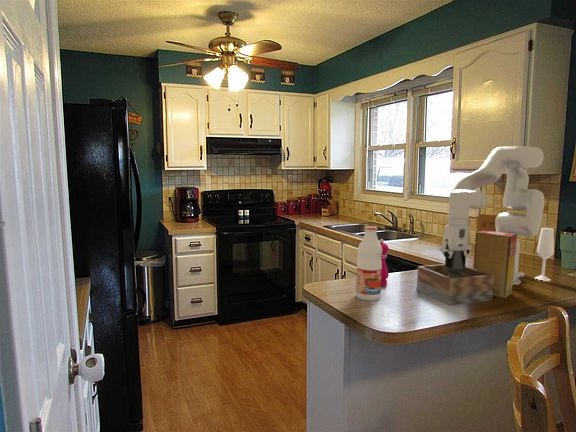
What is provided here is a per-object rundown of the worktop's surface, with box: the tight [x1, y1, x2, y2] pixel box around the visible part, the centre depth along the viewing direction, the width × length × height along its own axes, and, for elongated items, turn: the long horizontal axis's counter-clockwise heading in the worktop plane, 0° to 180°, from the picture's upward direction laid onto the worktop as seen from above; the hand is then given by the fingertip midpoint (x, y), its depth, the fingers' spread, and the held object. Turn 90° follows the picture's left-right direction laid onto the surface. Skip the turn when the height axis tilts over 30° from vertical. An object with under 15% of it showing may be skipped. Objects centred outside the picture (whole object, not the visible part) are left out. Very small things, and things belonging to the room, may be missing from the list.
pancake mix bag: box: [475, 213, 499, 235], centre depth 205 cm, size 7×19×28 cm, turn 55°
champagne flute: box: [534, 227, 555, 282], centre depth 186 cm, size 7×7×24 cm
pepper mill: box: [379, 238, 390, 287], centre depth 173 cm, size 7×7×20 cm
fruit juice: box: [355, 225, 382, 302], centre depth 155 cm, size 9×9×28 cm
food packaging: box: [472, 230, 518, 299], centre depth 164 cm, size 13×9×25 cm
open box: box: [416, 263, 494, 306], centre depth 161 cm, size 20×20×10 cm
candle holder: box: [447, 229, 465, 278], centre depth 160 cm, size 6×6×25 cm
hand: (455, 266), depth 160 cm, fingers closed on candle holder, 5 cm apart
